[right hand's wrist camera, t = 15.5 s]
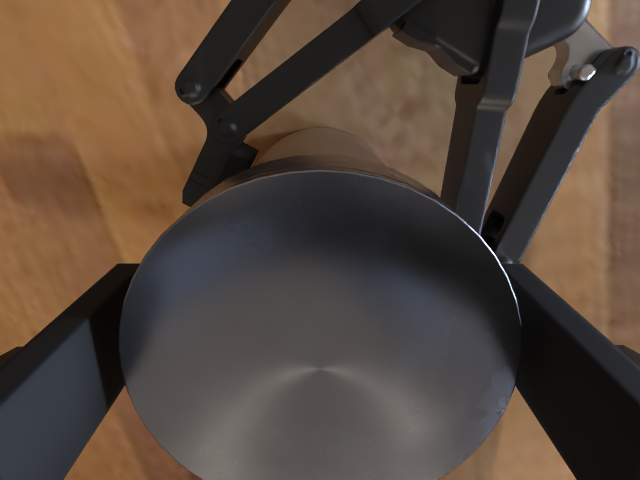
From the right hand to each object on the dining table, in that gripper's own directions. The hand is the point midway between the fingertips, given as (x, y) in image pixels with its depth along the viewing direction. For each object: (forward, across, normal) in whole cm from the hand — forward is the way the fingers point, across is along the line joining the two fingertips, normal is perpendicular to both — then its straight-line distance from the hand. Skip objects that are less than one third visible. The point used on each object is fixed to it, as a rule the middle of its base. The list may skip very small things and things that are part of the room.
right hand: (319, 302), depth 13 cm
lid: (-3, 0, 0) cm, 3 cm away
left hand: (+6, -2, -4) cm, 8 cm away
